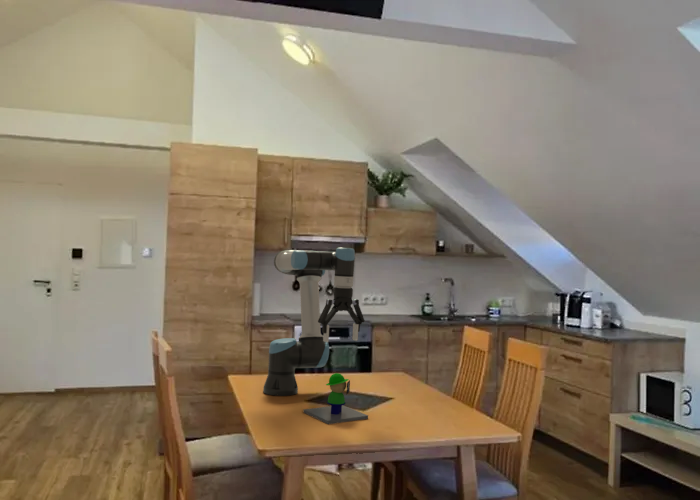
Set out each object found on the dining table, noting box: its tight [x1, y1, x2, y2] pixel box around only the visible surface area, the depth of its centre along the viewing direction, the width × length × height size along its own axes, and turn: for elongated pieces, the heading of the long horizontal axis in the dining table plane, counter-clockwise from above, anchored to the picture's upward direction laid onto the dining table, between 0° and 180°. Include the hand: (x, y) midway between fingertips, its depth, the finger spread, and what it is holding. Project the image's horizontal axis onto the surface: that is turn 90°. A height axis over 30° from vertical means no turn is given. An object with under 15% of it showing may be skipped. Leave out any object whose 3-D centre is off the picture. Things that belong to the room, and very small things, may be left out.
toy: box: [325, 372, 351, 415], centre depth 233 cm, size 9×9×15 cm
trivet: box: [302, 405, 369, 425], centre depth 233 cm, size 18×18×1 cm
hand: (340, 341), depth 238 cm, fingers open, 13 cm apart
